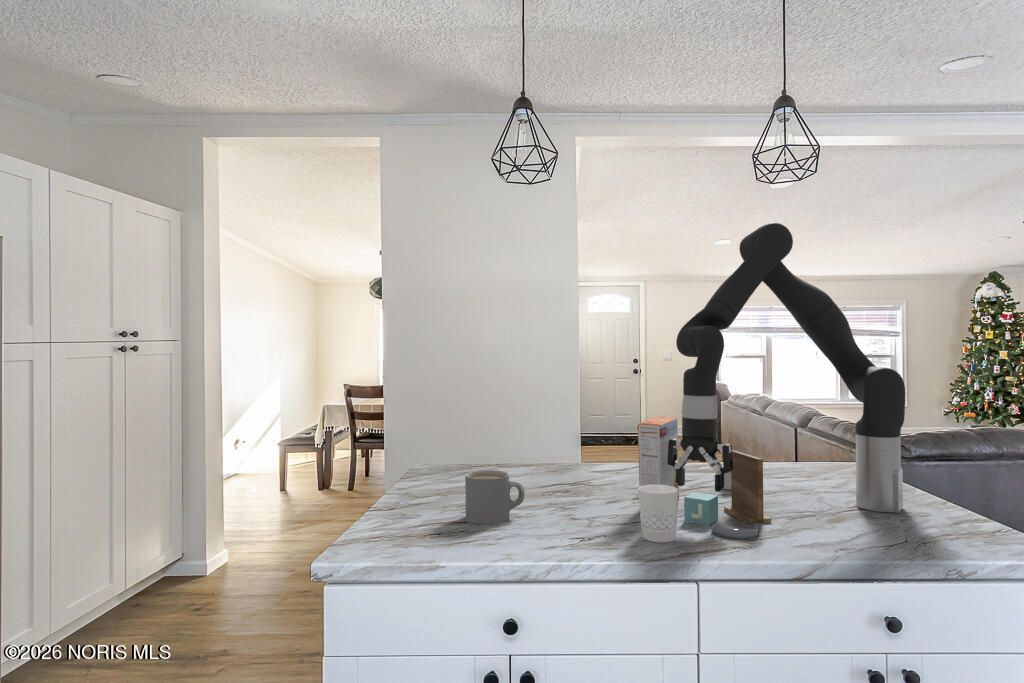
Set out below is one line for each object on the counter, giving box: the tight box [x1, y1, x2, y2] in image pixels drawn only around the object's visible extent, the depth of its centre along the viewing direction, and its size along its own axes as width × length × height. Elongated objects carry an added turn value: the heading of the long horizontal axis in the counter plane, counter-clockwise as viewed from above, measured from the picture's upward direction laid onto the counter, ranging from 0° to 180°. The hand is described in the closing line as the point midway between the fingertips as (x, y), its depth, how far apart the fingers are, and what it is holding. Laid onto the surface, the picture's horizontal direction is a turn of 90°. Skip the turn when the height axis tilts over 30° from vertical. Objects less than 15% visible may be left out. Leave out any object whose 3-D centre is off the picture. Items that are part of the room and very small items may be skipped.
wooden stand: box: [723, 450, 772, 525], centre depth 144 cm, size 5×11×14 cm, turn 11°
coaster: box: [711, 521, 759, 540], centre depth 132 cm, size 9×9×1 cm
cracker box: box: [637, 416, 680, 502], centre depth 154 cm, size 14×6×21 cm, turn 149°
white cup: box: [638, 485, 679, 544], centre depth 129 cm, size 8×8×10 cm
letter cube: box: [683, 491, 719, 527], centre depth 141 cm, size 6×6×6 cm
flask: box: [722, 449, 735, 491], centre depth 172 cm, size 7×7×10 cm
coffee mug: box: [464, 469, 525, 525], centre depth 145 cm, size 13×10×10 cm
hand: (699, 488), depth 141 cm, fingers open, 8 cm apart
